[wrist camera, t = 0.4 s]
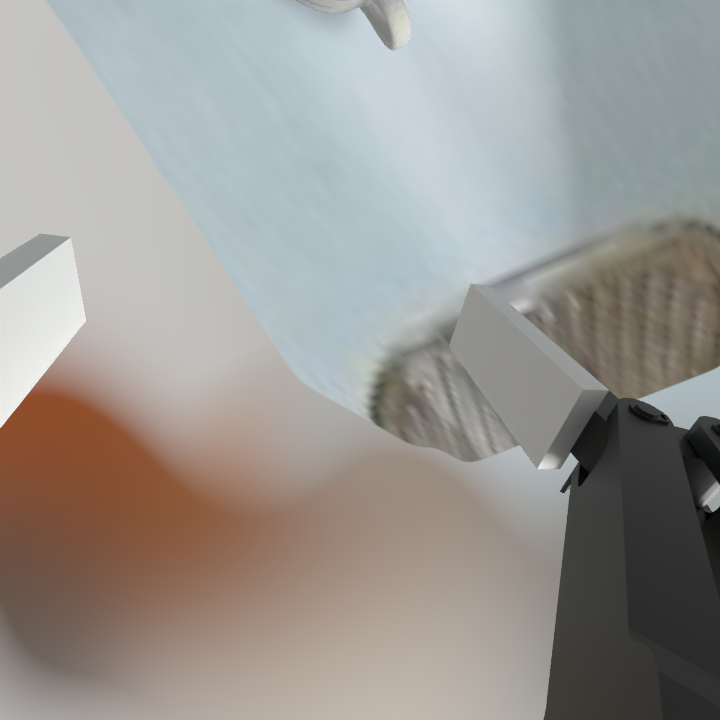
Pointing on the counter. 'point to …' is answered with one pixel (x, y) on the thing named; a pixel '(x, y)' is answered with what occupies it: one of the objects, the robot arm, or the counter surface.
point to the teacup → (374, 17)
